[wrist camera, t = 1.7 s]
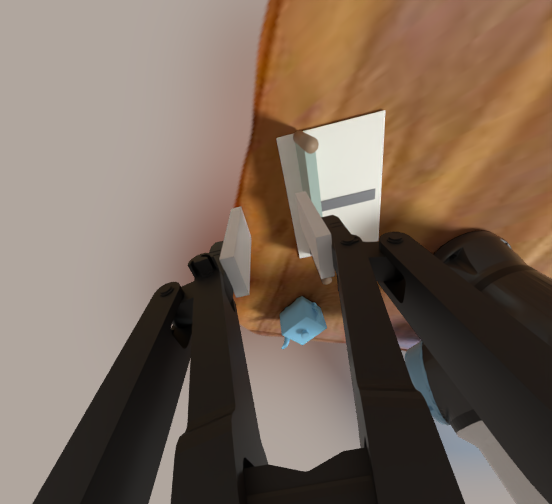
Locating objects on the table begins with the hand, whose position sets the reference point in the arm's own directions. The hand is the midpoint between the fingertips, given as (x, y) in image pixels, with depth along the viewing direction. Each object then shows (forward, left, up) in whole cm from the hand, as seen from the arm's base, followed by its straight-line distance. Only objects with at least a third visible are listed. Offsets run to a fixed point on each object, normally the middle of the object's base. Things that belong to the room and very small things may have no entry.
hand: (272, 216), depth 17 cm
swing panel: (-2, -6, -18) cm, 19 cm away
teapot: (-33, 0, -19) cm, 38 cm away
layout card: (-8, -10, -19) cm, 22 cm away
